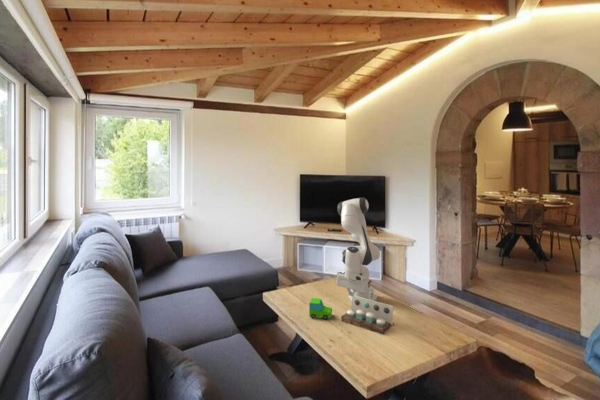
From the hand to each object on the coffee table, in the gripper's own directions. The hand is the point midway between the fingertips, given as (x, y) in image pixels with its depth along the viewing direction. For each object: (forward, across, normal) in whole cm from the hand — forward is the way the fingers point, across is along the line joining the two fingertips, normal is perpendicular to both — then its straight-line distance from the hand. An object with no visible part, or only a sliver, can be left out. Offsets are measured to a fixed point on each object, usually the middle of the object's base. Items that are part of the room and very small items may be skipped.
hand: (351, 295), depth 211 cm
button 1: (+14, +1, -1) cm, 14 cm away
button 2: (+12, +7, -1) cm, 14 cm away
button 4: (+14, +20, -1) cm, 24 cm away
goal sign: (+15, +10, +7) cm, 20 cm away
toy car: (+16, -17, -8) cm, 24 cm away
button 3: (+12, +14, -1) cm, 18 cm away
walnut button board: (+15, +10, -1) cm, 18 cm away
